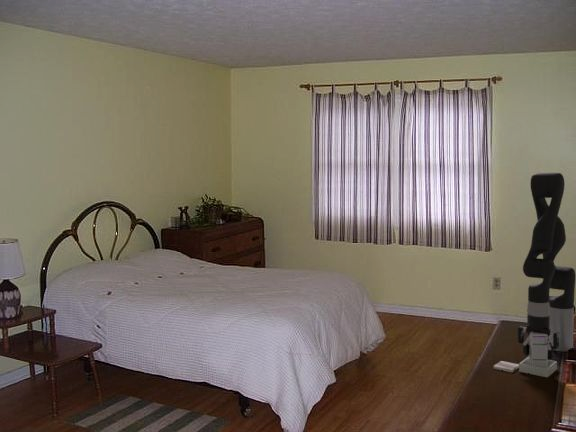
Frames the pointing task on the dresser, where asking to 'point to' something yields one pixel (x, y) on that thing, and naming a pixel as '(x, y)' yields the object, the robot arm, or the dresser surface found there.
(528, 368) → the bin
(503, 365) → the pad
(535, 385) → the dresser surface
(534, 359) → the syrup box
